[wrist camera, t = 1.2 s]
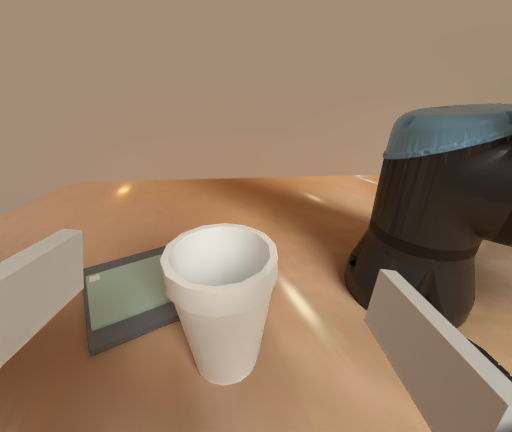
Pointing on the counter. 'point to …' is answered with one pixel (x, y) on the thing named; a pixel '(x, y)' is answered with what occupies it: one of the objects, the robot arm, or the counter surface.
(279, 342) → the counter surface
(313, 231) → the counter surface
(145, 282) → the tile board
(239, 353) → the foam cup
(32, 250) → the robot arm
